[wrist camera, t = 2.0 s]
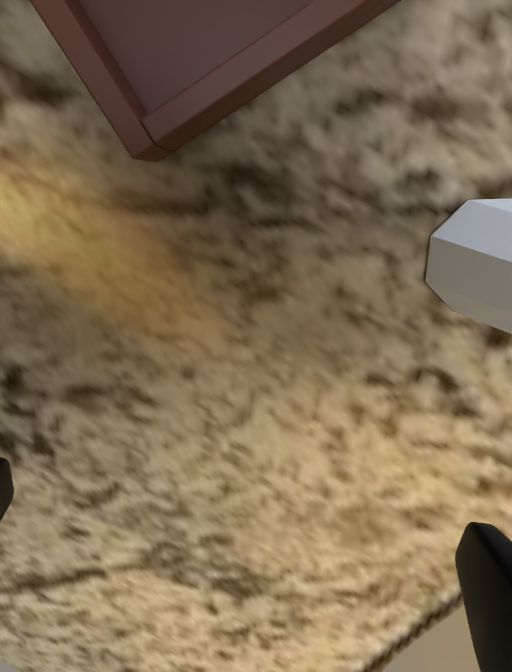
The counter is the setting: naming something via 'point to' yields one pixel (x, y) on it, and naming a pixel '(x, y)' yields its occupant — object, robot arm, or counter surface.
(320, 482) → the counter surface
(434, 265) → the salt shaker
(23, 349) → the counter surface
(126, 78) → the bin
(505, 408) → the counter surface
